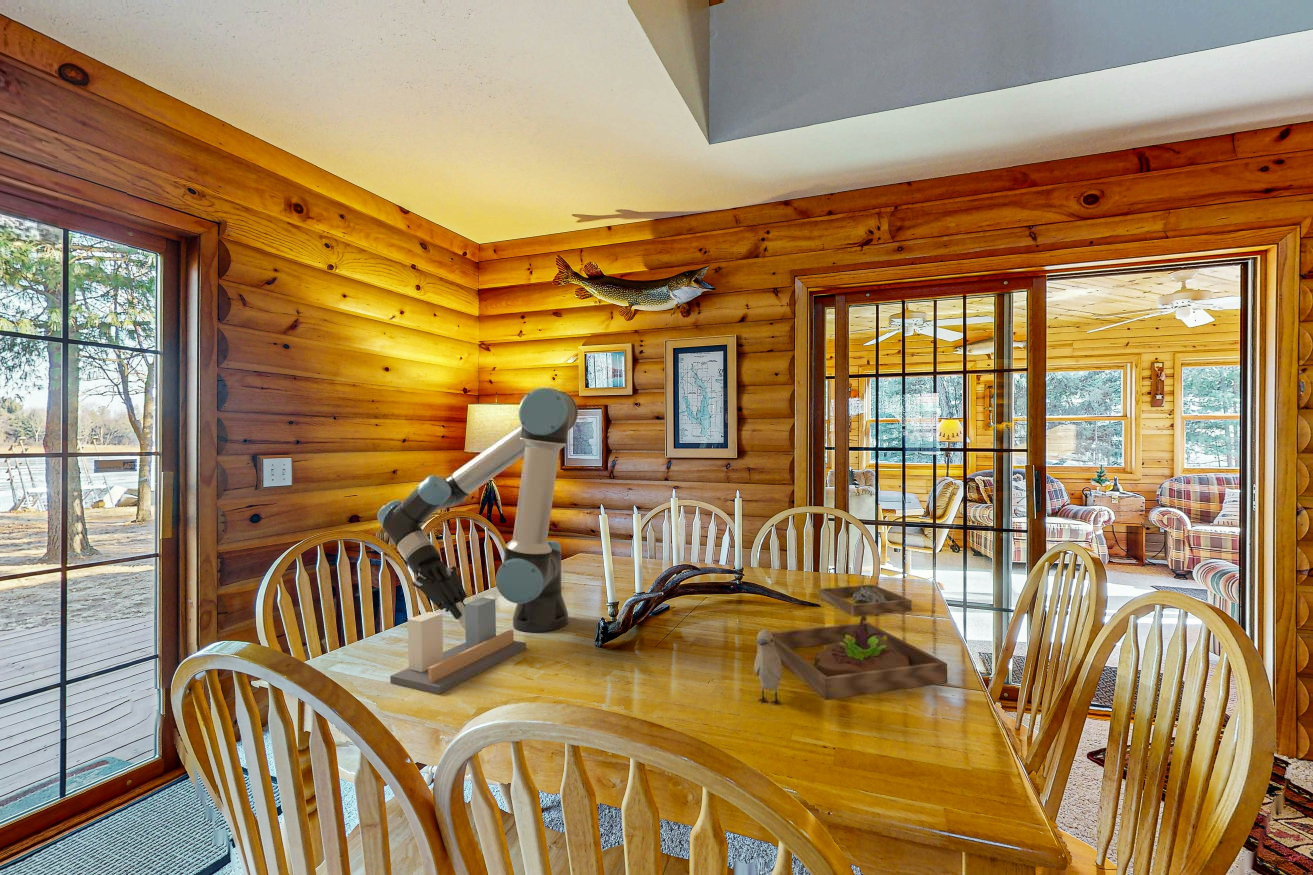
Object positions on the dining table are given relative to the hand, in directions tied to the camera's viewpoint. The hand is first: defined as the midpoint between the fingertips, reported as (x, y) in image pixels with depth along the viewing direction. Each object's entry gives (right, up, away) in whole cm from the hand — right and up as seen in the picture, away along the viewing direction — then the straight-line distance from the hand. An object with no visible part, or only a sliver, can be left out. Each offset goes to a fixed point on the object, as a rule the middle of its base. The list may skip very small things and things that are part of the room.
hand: (470, 626), depth 145 cm
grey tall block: (+3, -4, -1) cm, 6 cm away
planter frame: (+88, -5, -12) cm, 89 cm away
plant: (+91, -5, -12) cm, 92 cm away
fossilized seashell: (+110, -5, +34) cm, 115 cm away
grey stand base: (+1, -6, -8) cm, 10 cm away
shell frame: (+108, -4, +34) cm, 113 cm away
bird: (+67, -5, -29) cm, 73 cm away
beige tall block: (-6, -5, -13) cm, 15 cm away
